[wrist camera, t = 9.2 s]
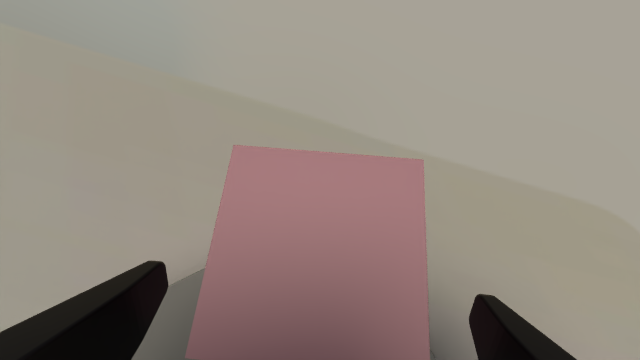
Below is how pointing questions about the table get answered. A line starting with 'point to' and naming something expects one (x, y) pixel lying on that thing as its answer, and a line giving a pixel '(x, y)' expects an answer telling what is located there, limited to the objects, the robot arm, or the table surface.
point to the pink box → (316, 260)
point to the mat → (175, 322)
